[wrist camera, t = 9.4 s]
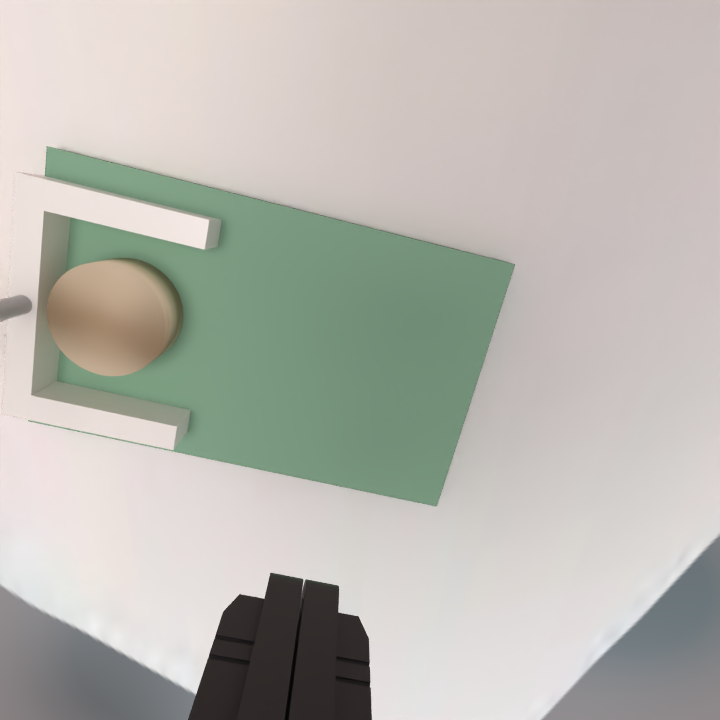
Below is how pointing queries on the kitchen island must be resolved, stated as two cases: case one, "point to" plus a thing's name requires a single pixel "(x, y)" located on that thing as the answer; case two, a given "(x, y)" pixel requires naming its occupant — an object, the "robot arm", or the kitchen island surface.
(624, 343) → the kitchen island surface
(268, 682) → the robot arm
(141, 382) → the putting green
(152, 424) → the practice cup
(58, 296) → the puck
